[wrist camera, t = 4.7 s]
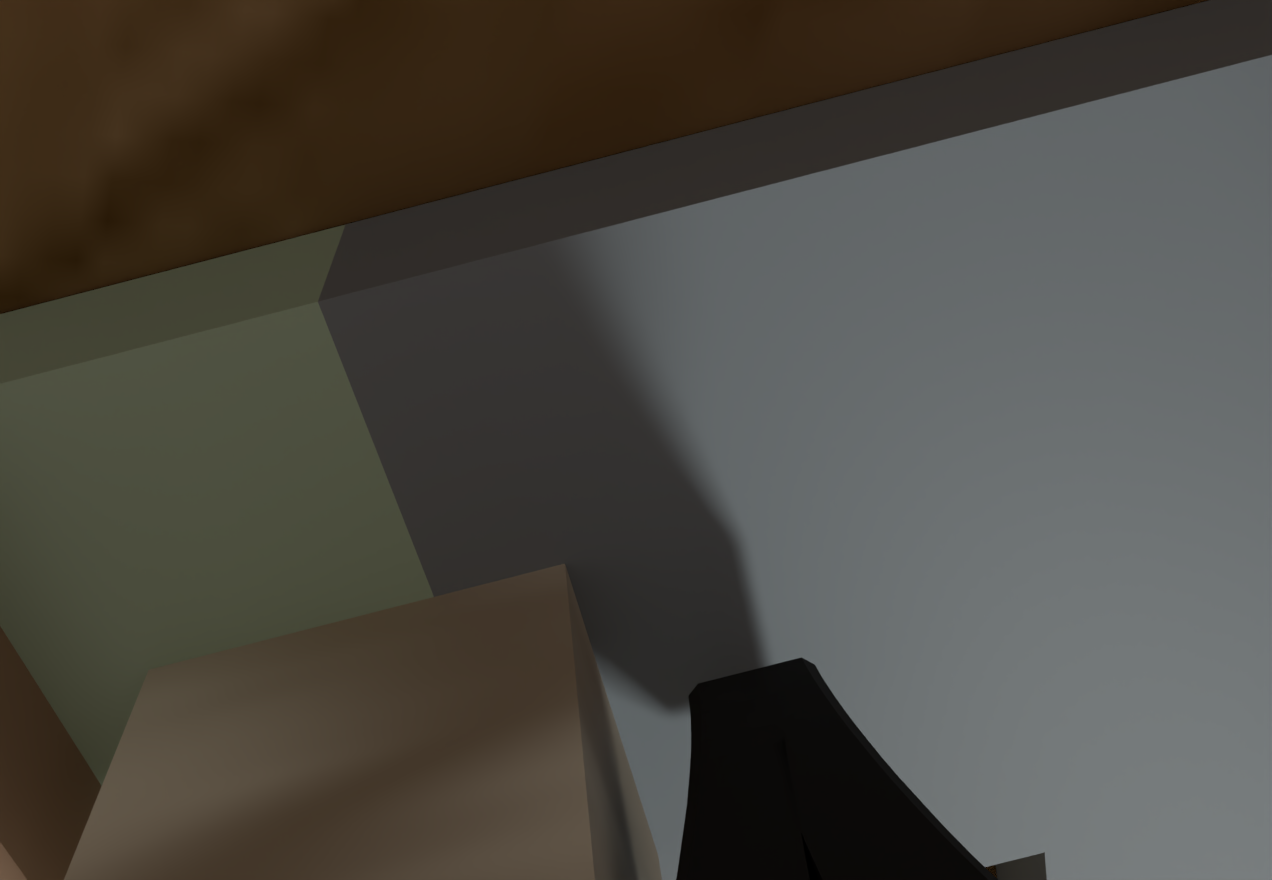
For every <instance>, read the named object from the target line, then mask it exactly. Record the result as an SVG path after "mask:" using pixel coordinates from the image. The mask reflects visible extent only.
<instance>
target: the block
mask: <svg viewBox="0 0 1272 880" xmlns="http://www.w3.org/2000/svg"><path fill="white" fill-rule="evenodd" d="M64 880H662V876H661V870H660V864H659V857H658V853H657V850H656V847H655V844H654V841H653V838H652V834H651V831H650V828H649V825H648V822H647V819H646V816H645V813H644V809H643V806H642V803H641V800H640V797H639V794H638V791H637V788H636V784H635V781H634V778H633V775H632V772H631V769H630V766H629V762H628V759H627V756H626V753H625V750H624V747H623V744H622V741H621V737H620V734H619V731H618V728H617V725H616V722H615V719H614V716H613V712H612V709H611V706H610V703H609V700H608V697H607V694H606V690H605V687H604V684H603V681H602V678H601V675H600V672H599V669H598V665H597V662H596V659H595V656H594V653H593V650H592V647H591V644H590V640H589V637H588V634H587V631H586V628H585V625H584V622H583V619H582V615H581V612H580V609H579V606H578V603H577V600H576V597H575V593H574V590H573V587H572V584H571V581H570V578H569V575H568V572H567V568H566V565H565V564H561V565H557V566H553V567H550V568H546V569H542V570H538V571H534V572H530V573H526V574H522V575H518V576H514V577H510V578H506V579H502V580H499V581H495V582H491V583H487V584H483V585H479V586H475V587H471V588H467V589H463V590H459V591H455V592H452V593H448V594H444V595H440V596H436V597H432V598H428V599H424V600H420V601H416V602H412V603H408V604H404V605H401V606H397V607H393V608H389V609H385V610H381V611H377V612H373V613H369V614H365V615H361V616H357V617H354V618H350V619H346V620H342V621H338V622H334V623H330V624H326V625H322V626H318V627H314V628H310V629H307V630H303V631H299V632H295V633H291V634H287V635H283V636H279V637H275V638H271V639H267V640H263V641H259V642H256V643H252V644H248V645H244V646H240V647H236V648H232V649H228V650H224V651H220V652H216V653H212V654H209V655H205V656H201V657H197V658H193V659H189V660H185V661H181V662H177V663H173V664H169V665H165V666H162V667H158V668H154V669H150V670H148V672H147V675H146V677H145V680H144V682H143V685H142V687H141V690H140V692H139V695H138V697H137V700H136V702H135V705H134V707H133V710H132V712H131V715H130V717H129V719H128V722H127V724H126V727H125V729H124V732H123V734H122V737H121V739H120V742H119V744H118V747H117V749H116V752H115V754H114V757H113V759H112V762H111V764H110V767H109V769H108V772H107V774H106V776H105V779H104V781H103V784H102V786H101V789H100V791H99V794H98V796H97V799H96V801H95V804H94V806H93V809H92V811H91V814H90V816H89V819H88V821H87V824H86V826H85V829H84V831H83V833H82V836H81V838H80V841H79V843H78V846H77V848H76V851H75V853H74V856H73V858H72V861H71V863H70V866H69V868H68V871H67V873H66V876H65V878H64Z"/></svg>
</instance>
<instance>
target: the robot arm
mask: <svg viewBox="0 0 1272 880" xmlns="http://www.w3.org/2000/svg"><path fill="white" fill-rule="evenodd" d="M688 698H689V706H690V715H691V758H690V774H689V786H688V798H687V808H686V815H685V822H684V829H683V836H682V843H681V850H680V857H679V865H678V872H677V878H676V880H998V879H997V878H996V877H994V876H993V875H992V874H991V873H990V872H989V871H988V870H987V869H986V868H985V867H984V866H983V865H982V864H981V863H980V862H979V861H978V860H977V859H976V858H975V857H974V856H973V855H972V854H971V853H970V852H969V851H968V850H967V849H966V848H965V847H964V846H963V845H962V844H961V843H960V842H959V841H958V840H957V839H956V838H955V837H954V836H953V835H952V834H951V833H950V832H949V831H948V830H947V829H946V828H945V827H944V826H943V825H942V824H941V822H940V821H939V820H938V819H937V818H936V817H935V816H934V815H933V814H932V813H931V812H930V810H929V809H928V808H927V807H926V806H925V805H924V804H923V803H922V802H921V801H920V800H919V798H918V797H917V796H916V795H915V794H914V793H913V792H912V791H911V790H910V789H909V788H908V787H907V785H906V784H905V783H904V782H903V781H902V780H901V779H900V778H899V777H898V775H897V774H896V773H895V772H894V771H893V770H892V768H891V767H890V766H889V765H888V764H887V763H886V762H885V760H884V759H883V758H882V757H881V756H880V754H879V753H878V752H877V751H876V749H875V748H874V747H873V746H872V745H871V743H870V742H869V741H868V740H867V738H866V737H865V736H864V735H863V733H862V732H861V731H860V730H859V728H858V727H857V726H856V725H855V723H854V722H853V721H852V719H851V718H850V717H849V715H848V714H847V713H846V711H845V710H844V709H843V707H842V706H841V704H840V703H839V702H838V700H837V699H836V697H835V696H834V695H833V693H832V691H831V690H830V688H829V687H828V685H827V684H826V682H825V681H824V679H823V678H822V676H821V674H820V673H819V671H818V669H817V667H816V666H815V664H813V663H811V662H809V661H807V660H805V659H803V658H802V657H801V658H797V659H793V660H789V661H785V662H781V663H777V664H773V665H769V666H766V667H762V668H758V669H754V670H750V671H746V672H742V673H738V674H734V675H730V676H726V677H722V678H718V679H714V680H710V681H706V682H702V683H698V684H697V685H696V687H695V688H694V689H693V690H692V692H691V693H690V694H689V696H688Z"/></svg>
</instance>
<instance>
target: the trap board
mask: <svg viewBox="0 0 1272 880" xmlns="http://www.w3.org/2000/svg"><path fill="white" fill-rule="evenodd" d="M561 564H565V565H566V568H567V572H568V575H569V578H570V581H571V584H572V587H573V590H574V593H575V597H576V600H577V603H578V606H579V609H580V612H581V615H582V619H583V622H584V625H585V628H586V631H587V634H588V637H589V640H590V644H591V647H592V650H593V653H594V656H595V659H596V662H597V665H598V669H599V672H600V675H601V678H602V681H603V684H604V687H605V690H606V694H607V697H608V700H609V703H610V706H611V709H612V712H613V716H614V719H615V722H616V725H617V728H618V731H619V734H620V737H621V741H622V744H623V747H624V750H625V753H626V756H627V759H628V762H629V766H630V769H631V772H632V775H633V778H634V781H635V784H636V788H637V791H638V794H639V797H640V800H641V803H642V806H643V809H644V813H645V816H646V819H647V822H648V825H649V828H650V831H651V834H652V838H653V841H654V844H655V847H656V850H657V853H658V857H659V864H660V870H661V876H662V880H676V878H677V872H678V865H679V857H680V850H681V843H682V836H683V829H684V822H685V815H686V808H687V798H688V786H689V774H690V758H691V715H690V706H689V698H688V696H689V694H690V693H691V692H692V690H693V689H694V688H695V687H696V685H697V684H698V683H702V682H706V681H710V680H714V679H718V678H722V677H726V676H730V675H734V674H738V673H742V672H746V671H750V670H754V669H758V668H762V667H766V666H769V665H773V664H777V663H781V662H785V661H789V660H793V659H797V658H801V657H802V658H803V659H805V660H807V661H809V662H811V663H813V664H815V666H816V667H817V669H818V671H819V673H820V674H821V676H822V678H823V679H824V681H825V682H826V684H827V685H828V687H829V688H830V690H831V691H832V693H833V695H834V696H835V697H836V699H837V700H838V702H839V703H840V704H841V706H842V707H843V709H844V710H845V711H846V713H847V714H848V715H849V717H850V718H851V719H852V721H853V722H854V723H855V725H856V726H857V727H858V728H859V730H860V731H861V732H862V733H863V735H864V736H865V737H866V738H867V740H868V741H869V742H870V743H871V745H872V746H873V747H874V748H875V749H876V751H877V752H878V753H879V754H880V756H881V757H882V758H883V759H884V760H885V762H886V763H887V764H888V765H889V766H890V767H891V768H892V770H893V771H894V772H895V773H896V774H897V775H898V777H899V778H900V779H901V780H902V781H903V782H904V783H905V784H906V785H907V787H908V788H909V789H910V790H911V791H912V792H913V793H914V794H915V795H916V796H917V797H918V798H919V800H920V801H921V802H922V803H923V804H924V805H925V806H926V807H927V808H928V809H929V810H930V812H931V813H932V814H933V815H934V816H935V817H936V818H937V819H938V820H939V821H940V822H941V824H942V825H943V826H944V827H945V828H946V829H947V830H948V831H949V832H950V833H951V834H952V835H953V836H954V837H955V838H956V839H957V840H958V841H959V842H960V843H961V844H962V845H963V846H964V847H965V848H966V849H967V850H968V851H969V852H970V853H971V854H972V855H973V856H974V857H975V858H976V859H977V860H978V861H979V862H980V863H981V864H982V865H983V866H984V867H988V866H992V865H996V873H997V879H998V880H1272V0H1208V1H1205V2H1201V3H1197V4H1193V5H1189V6H1185V7H1181V8H1178V9H1174V10H1170V11H1166V12H1162V13H1158V14H1154V15H1151V16H1147V17H1143V18H1139V19H1135V20H1131V21H1128V22H1124V23H1120V24H1116V25H1112V26H1108V27H1104V28H1101V29H1097V30H1093V31H1089V32H1085V33H1081V34H1077V35H1074V36H1070V37H1066V38H1062V39H1058V40H1054V41H1050V42H1047V43H1043V44H1039V45H1035V46H1031V47H1027V48H1024V49H1020V50H1016V51H1012V52H1008V53H1004V54H1000V55H997V56H993V57H989V58H985V59H981V60H977V61H973V62H970V63H966V64H962V65H958V66H954V67H950V68H947V69H943V70H939V71H935V72H931V73H927V74H923V75H920V76H916V77H912V78H908V79H904V80H900V81H896V82H893V83H889V84H885V85H881V86H877V87H873V88H869V89H866V90H862V91H858V92H854V93H850V94H846V95H843V96H839V97H835V98H831V99H827V100H823V101H819V102H816V103H812V104H808V105H804V106H800V107H796V108H792V109H789V110H785V111H781V112H777V113H773V114H769V115H765V116H762V117H758V118H754V119H750V120H746V121H742V122H739V123H735V124H731V125H727V126H723V127H719V128H715V129H712V130H708V131H704V132H700V133H696V134H692V135H688V136H685V137H681V138H677V139H673V140H669V141H665V142H661V143H658V144H654V145H650V146H646V147H642V148H638V149H635V150H631V151H627V152H623V153H619V154H615V155H611V156H608V157H604V158H600V159H596V160H592V161H588V162H584V163H581V164H577V165H573V166H569V167H565V168H561V169H558V170H554V171H550V172H546V173H542V174H538V175H534V176H531V177H527V178H523V179H519V180H515V181H511V182H507V183H504V184H500V185H496V186H492V187H488V188H484V189H480V190H477V191H473V192H469V193H465V194H461V195H457V196H454V197H450V198H446V199H442V200H438V201H434V202H430V203H427V204H423V205H419V206H415V207H411V208H407V209H403V210H400V211H396V212H392V213H388V214H384V215H380V216H376V217H373V218H369V219H365V220H361V221H357V222H353V223H350V224H346V225H342V226H338V227H334V228H330V229H326V230H323V231H319V232H315V233H311V234H307V235H303V236H299V237H296V238H292V239H288V240H284V241H280V242H276V243H273V244H269V245H265V246H261V247H257V248H253V249H249V250H246V251H242V252H238V253H234V254H230V255H226V256H222V257H219V258H215V259H211V260H207V261H203V262H199V263H195V264H192V265H188V266H184V267H180V268H176V269H172V270H169V271H165V272H161V273H157V274H153V275H149V276H145V277H142V278H138V279H134V280H130V281H126V282H122V283H118V284H115V285H111V286H107V287H103V288H99V289H95V290H91V291H88V292H84V293H80V294H76V295H72V296H68V297H65V298H61V299H57V300H53V301H49V302H45V303H41V304H38V305H34V306H30V307H26V308H22V309H18V310H14V311H11V312H7V313H3V314H0V880H64V878H65V876H66V873H67V871H68V868H69V866H70V863H71V861H72V858H73V856H74V853H75V851H76V848H77V846H78V843H79V841H80V838H81V836H82V833H83V831H84V829H85V826H86V824H87V821H88V819H89V816H90V814H91V811H92V809H93V806H94V804H95V801H96V799H97V796H98V794H99V791H100V789H101V786H102V784H103V781H104V779H105V776H106V774H107V772H108V769H109V767H110V764H111V762H112V759H113V757H114V754H115V752H116V749H117V747H118V744H119V742H120V739H121V737H122V734H123V732H124V729H125V727H126V724H127V722H128V719H129V717H130V715H131V712H132V710H133V707H134V705H135V702H136V700H137V697H138V695H139V692H140V690H141V687H142V685H143V682H144V680H145V677H146V675H147V672H148V670H150V669H154V668H158V667H162V666H165V665H169V664H173V663H177V662H181V661H185V660H189V659H193V658H197V657H201V656H205V655H209V654H212V653H216V652H220V651H224V650H228V649H232V648H236V647H240V646H244V645H248V644H252V643H256V642H259V641H263V640H267V639H271V638H275V637H279V636H283V635H287V634H291V633H295V632H299V631H303V630H307V629H310V628H314V627H318V626H322V625H326V624H330V623H334V622H338V621H342V620H346V619H350V618H354V617H357V616H361V615H365V614H369V613H373V612H377V611H381V610H385V609H389V608H393V607H397V606H401V605H404V604H408V603H412V602H416V601H420V600H424V599H428V598H432V597H436V596H440V595H444V594H448V593H452V592H455V591H459V590H463V589H467V588H471V587H475V586H479V585H483V584H487V583H491V582H495V581H499V580H502V579H506V578H510V577H514V576H518V575H522V574H526V573H530V572H534V571H538V570H542V569H546V568H550V567H553V566H557V565H561Z"/></svg>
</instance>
